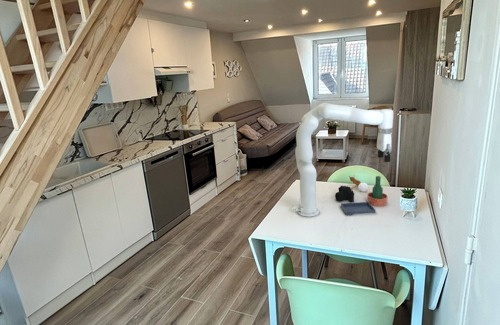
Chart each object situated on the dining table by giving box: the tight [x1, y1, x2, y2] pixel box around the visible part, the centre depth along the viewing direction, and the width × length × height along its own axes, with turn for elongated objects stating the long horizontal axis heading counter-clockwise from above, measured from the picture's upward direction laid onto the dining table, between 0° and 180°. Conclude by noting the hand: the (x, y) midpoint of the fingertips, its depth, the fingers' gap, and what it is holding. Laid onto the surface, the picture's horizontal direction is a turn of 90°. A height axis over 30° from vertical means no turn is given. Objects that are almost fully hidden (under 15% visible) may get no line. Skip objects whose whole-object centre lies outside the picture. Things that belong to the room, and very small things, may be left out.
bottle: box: [371, 175, 384, 199], centre depth 195 cm, size 6×6×18 cm
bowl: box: [366, 192, 389, 207], centre depth 197 cm, size 12×12×6 cm
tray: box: [340, 201, 376, 216], centre depth 190 cm, size 17×12×2 cm
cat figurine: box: [348, 174, 369, 193], centre depth 222 cm, size 13×12×18 cm
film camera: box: [334, 185, 355, 203], centre depth 205 cm, size 15×10×9 cm, turn 16°
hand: (383, 159), depth 183 cm, fingers open, 9 cm apart
